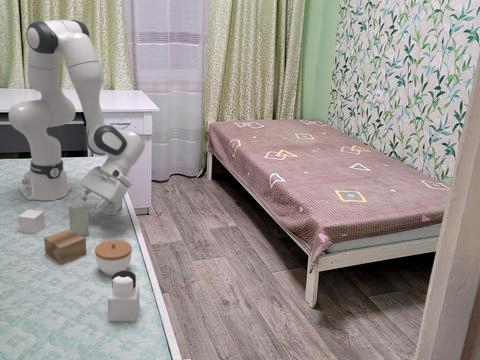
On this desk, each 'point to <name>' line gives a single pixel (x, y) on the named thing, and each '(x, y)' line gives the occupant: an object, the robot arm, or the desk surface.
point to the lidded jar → (113, 256)
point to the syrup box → (112, 208)
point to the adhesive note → (31, 221)
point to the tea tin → (79, 217)
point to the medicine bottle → (123, 297)
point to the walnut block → (65, 246)
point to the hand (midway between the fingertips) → (89, 205)
